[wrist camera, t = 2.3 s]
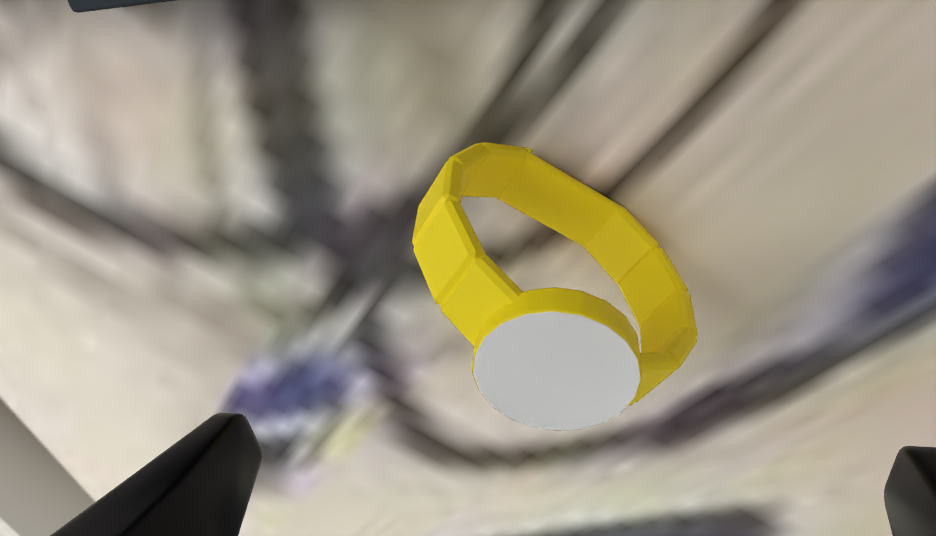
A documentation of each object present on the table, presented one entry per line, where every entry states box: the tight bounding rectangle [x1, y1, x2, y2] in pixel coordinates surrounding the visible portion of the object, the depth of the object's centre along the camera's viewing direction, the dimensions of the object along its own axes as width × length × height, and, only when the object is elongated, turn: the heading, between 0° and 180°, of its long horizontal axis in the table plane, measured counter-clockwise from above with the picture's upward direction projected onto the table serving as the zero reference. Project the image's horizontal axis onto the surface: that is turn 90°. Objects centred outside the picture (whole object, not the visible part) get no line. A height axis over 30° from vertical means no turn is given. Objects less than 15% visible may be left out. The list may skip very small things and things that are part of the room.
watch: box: [412, 142, 697, 431], centre depth 12 cm, size 6×3×6 cm, turn 60°
